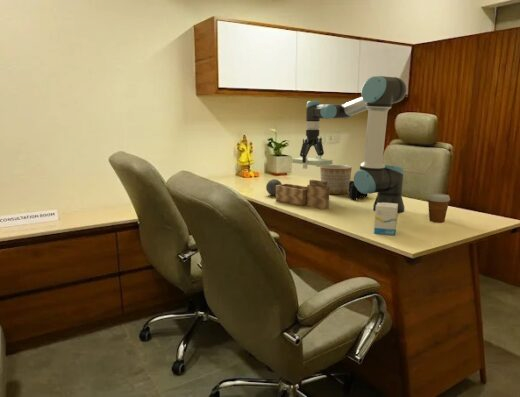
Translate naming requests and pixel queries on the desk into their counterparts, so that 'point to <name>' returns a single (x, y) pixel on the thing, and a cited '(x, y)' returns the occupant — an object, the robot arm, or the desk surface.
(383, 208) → the ink box
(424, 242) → the desk surface
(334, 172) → the planter
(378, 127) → the robot arm
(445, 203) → the disposable coffee cup
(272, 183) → the decorative ball
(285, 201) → the brown zigzag organizer box
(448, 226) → the desk surface
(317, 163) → the lid
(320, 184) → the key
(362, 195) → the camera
